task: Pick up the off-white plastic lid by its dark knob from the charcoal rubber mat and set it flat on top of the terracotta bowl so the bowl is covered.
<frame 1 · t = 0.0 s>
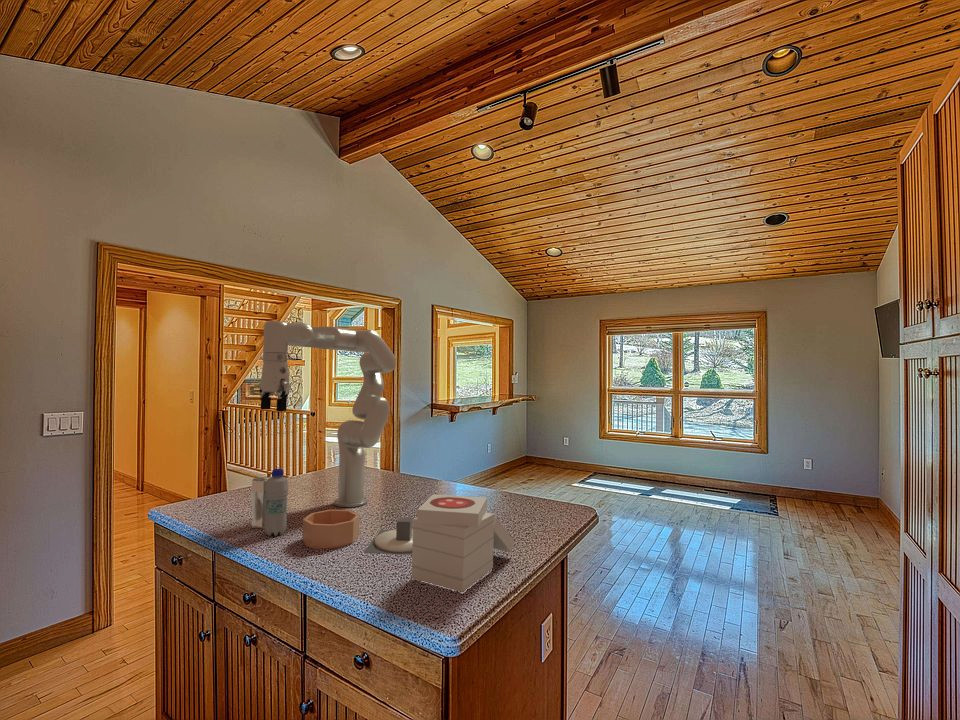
hand: (273, 410, 156), 37 cm above the worktop, tool pointing down, fingers open, 9 cm apart
bowl: (331, 540, 141), on the worktop
pizza boxes: (463, 568, 124), on the worktop
lid: (404, 541, 140), point 1 cm above the worktop, touching mat
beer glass: (261, 526, 153), on the worktop
bottle: (275, 534, 146), on the worktop
mat: (404, 543, 140), on the worktop
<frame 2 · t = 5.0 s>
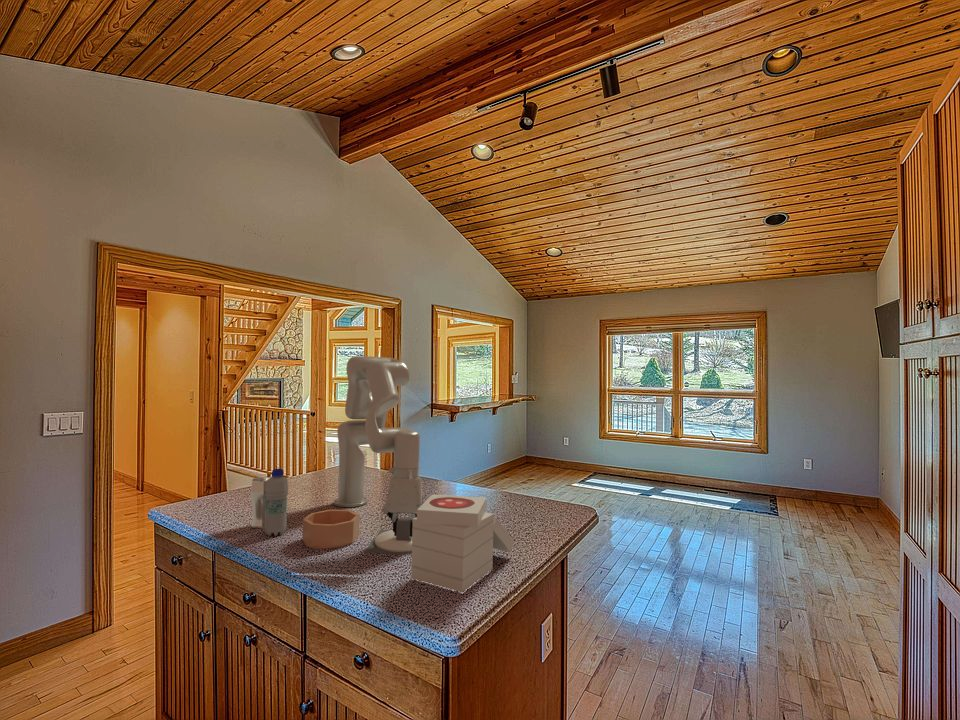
hand: (404, 534, 140), 3 cm above the worktop, tool pointing down, fingers closed on lid, 4 cm apart
lid: (404, 541, 140), point 1 cm above the worktop, touching gripper, mat
everything else where it was.
when the fingers open (10 cm above the worktop, at t = 10.9 s): lid stays where it is, resting on bowl.
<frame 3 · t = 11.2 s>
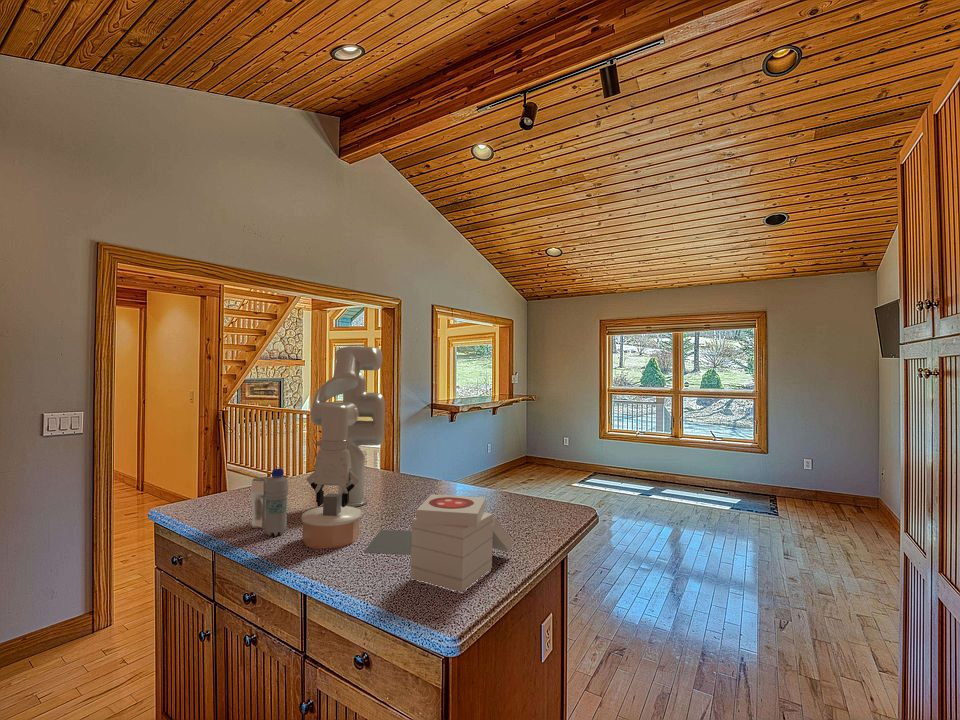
hand: (332, 505, 141), 11 cm above the worktop, tool pointing down, fingers open, 6 cm apart
lid: (331, 517, 141), point 7 cm above the worktop, touching bowl
everything else where it was.
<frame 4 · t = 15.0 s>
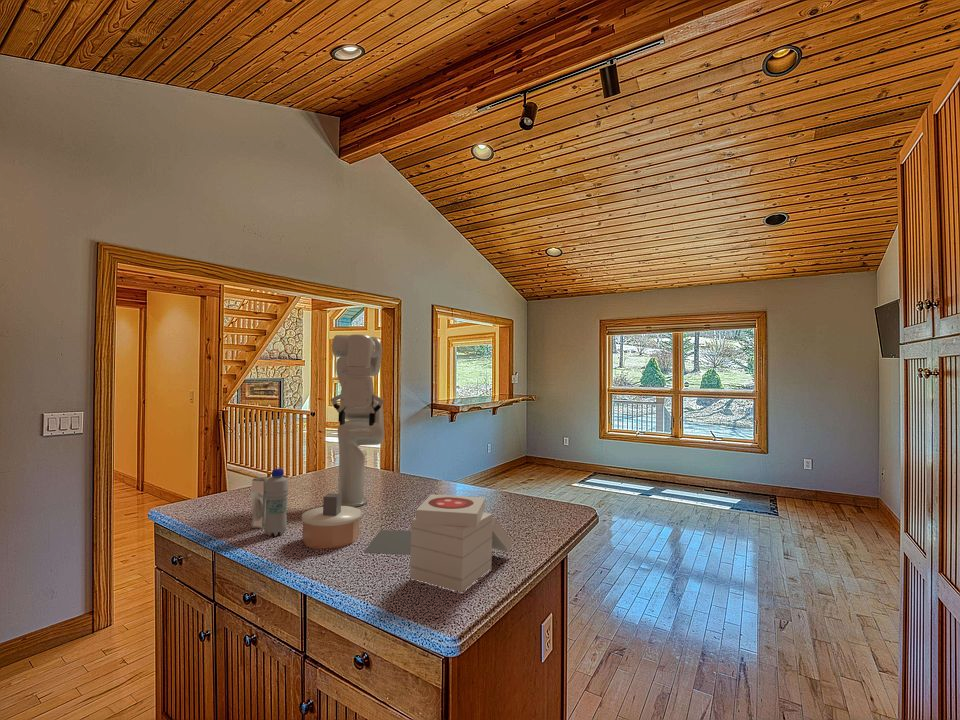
hand: (356, 424, 154), 33 cm above the worktop, tool pointing down, fingers open, 9 cm apart
nothing on the worktop moved.
at the end: lid 0.0 cm off-centre on the bowl, point 7.0 cm above the bowl's base; lid tilted 0°; the gripper is holding nothing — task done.
